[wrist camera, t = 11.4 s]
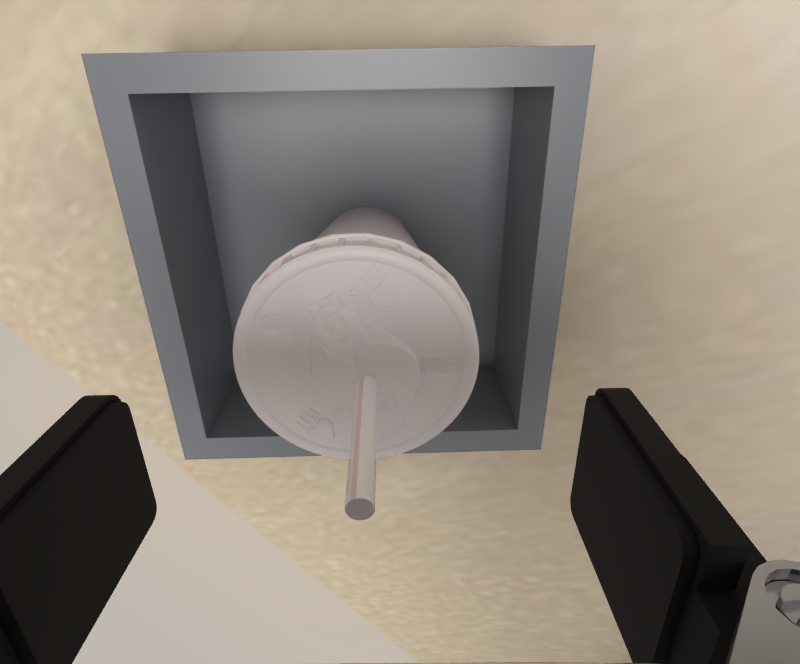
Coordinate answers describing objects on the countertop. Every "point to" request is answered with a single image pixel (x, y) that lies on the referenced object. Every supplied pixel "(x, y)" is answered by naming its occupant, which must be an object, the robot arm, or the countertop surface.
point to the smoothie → (357, 347)
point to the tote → (346, 204)
